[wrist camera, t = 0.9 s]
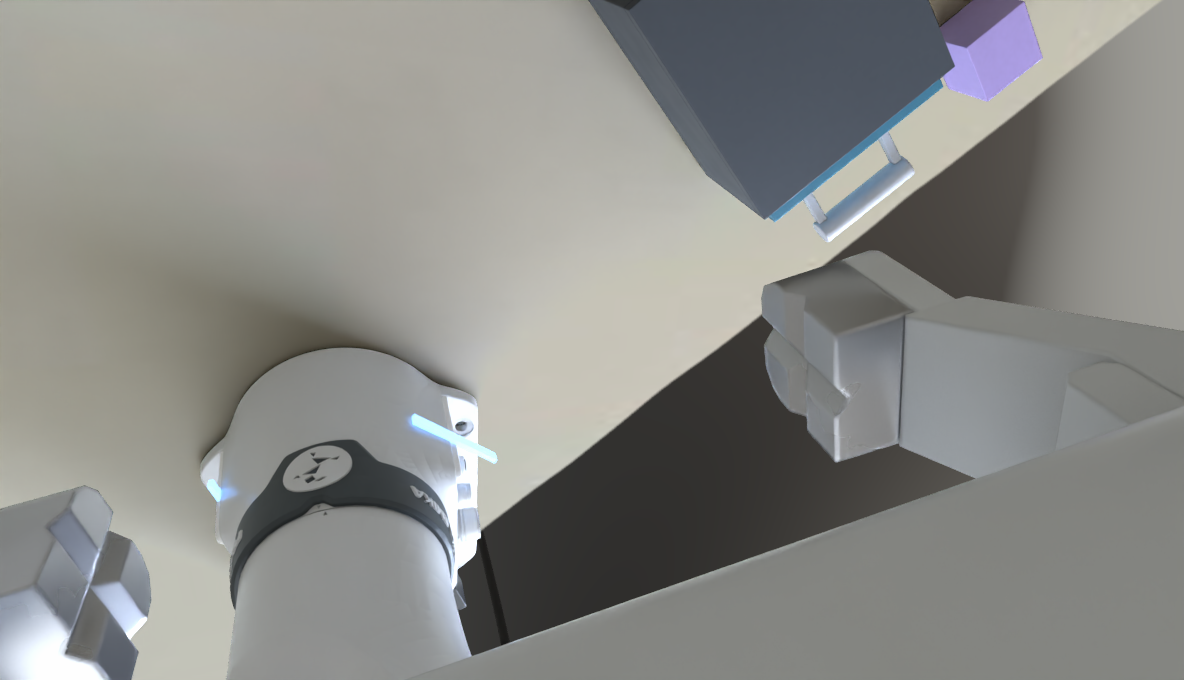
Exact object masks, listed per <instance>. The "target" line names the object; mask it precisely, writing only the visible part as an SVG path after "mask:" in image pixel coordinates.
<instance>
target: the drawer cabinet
mask: <svg viewBox="0 0 1184 680" xmlns="http://www.w3.org/2000/svg"><path fill="white" fill-rule="evenodd" d="M589 2H590V3H591V5H592V6H593V8H594V9H595V11H596V12H597V14H598V15H599V17H600V18H601V20H602V21H603V23H604V24H605V26H606V27H607V28H608V30H609V31H610V33H611V34H612V36H613V37H614V39H615V40H616V42H617V43H618V45H619V46H620V48H621V49H622V51H623V52H624V54H625V55H626V57H627V58H628V59H629V61H630V62H631V64H632V65H633V67H634V68H635V70H636V71H637V73H638V74H639V76H640V77H641V79H642V80H643V82H644V83H645V85H646V86H647V88H648V89H649V91H650V92H651V93H652V95H653V96H654V98H655V99H656V101H657V102H658V104H659V105H660V107H661V108H662V110H663V111H664V113H665V114H666V116H667V117H668V119H669V120H670V122H671V123H672V124H673V126H674V127H675V129H676V130H677V132H678V133H679V135H680V136H681V138H682V139H683V141H684V142H685V144H686V145H687V147H688V148H689V150H690V151H691V153H692V154H693V156H694V157H695V158H696V160H697V161H698V163H699V164H700V166H701V167H702V169H703V170H704V172H705V173H706V175H707V176H709V177H710V178H711V179H713V180H714V181H715V182H716V183H718V184H719V185H720V186H722V187H723V188H724V189H726V190H727V191H728V192H729V193H731V194H732V195H733V196H735V197H736V198H737V199H738V200H740V201H741V202H742V203H744V204H745V205H746V206H748V207H749V208H750V209H751V210H753V211H754V212H755V213H757V214H758V215H759V216H760V217H762V218H763V219H764V220H765V219H767V218H768V217H769V216H770V215H772V214H773V213H774V212H775V211H777V210H778V209H779V208H780V207H781V206H783V205H784V204H785V203H786V202H788V201H789V200H790V199H791V198H793V197H794V196H795V195H796V194H798V193H799V192H800V191H801V190H803V189H804V188H805V187H806V186H808V185H809V184H810V183H811V182H812V181H814V180H815V179H816V178H817V177H819V176H820V175H821V174H822V173H824V172H825V171H826V170H827V169H829V168H830V167H831V166H832V165H834V164H835V163H836V162H837V161H839V160H840V159H841V158H842V157H844V156H845V155H846V154H847V153H848V152H850V151H851V150H852V149H853V148H855V147H856V146H857V145H858V144H860V143H861V142H862V141H863V140H865V139H866V138H867V137H868V136H870V135H871V134H872V133H873V132H875V131H876V130H877V129H878V128H879V127H881V126H882V125H883V124H884V123H886V122H887V121H888V120H889V119H891V118H892V117H893V116H894V115H896V114H897V113H898V112H899V111H901V110H902V109H903V108H904V107H906V106H907V105H908V104H909V103H910V102H912V101H913V100H914V99H915V98H917V97H918V96H919V95H920V94H922V93H923V92H924V91H925V90H927V89H928V88H929V87H930V86H932V85H933V84H934V83H935V82H937V81H938V80H939V79H940V78H942V77H943V76H944V75H945V74H946V73H948V72H949V71H950V70H951V69H953V68H954V67H955V65H954V62H953V60H952V57H951V55H950V52H949V50H948V47H947V45H946V42H945V40H944V37H943V35H942V32H941V30H940V28H939V25H938V23H937V20H936V18H935V15H934V13H933V10H932V8H931V5H930V3H929V0H589Z"/></svg>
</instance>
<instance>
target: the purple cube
mask: <svg viewBox="0 0 1184 680" xmlns="http://www.w3.org/2000/svg"><path fill="white" fill-rule="evenodd" d="M939 28H940V30H941V32H942V35H943V37H944V40H945V42H946V45H947V47H948V50H949V52H950V55H951V57H952V60H953V62H954V65H955V67H954V68H953V69H951V70H950V71H949V72H948V73H946V74H945V75H944V76H943V77H944V79H945V81H946V84H947V86H948V88H949V89H951V90H954V91H957V92H960V93H963V94H966V95H969V96H972V97H975V98H978V99H981V100H984V101H989V100H990V99H992V98H993V97H994V96H995V95H997V94H998V93H999V92H1000V91H1002V90H1003V89H1004V88H1005V87H1007V86H1008V85H1009V84H1010V83H1012V82H1013V81H1014V80H1015V79H1017V78H1018V77H1019V76H1020V75H1022V74H1023V73H1024V72H1026V71H1027V70H1028V69H1029V68H1031V67H1032V66H1033V65H1034V64H1036V63H1037V62H1038V61H1039V60H1041V59H1042V58H1043V57H1042V54H1041V51H1040V48H1039V45H1038V42H1037V39H1036V36H1035V33H1034V30H1033V26H1032V23H1031V20H1030V17H1029V14H1028V11H1027V8H1026V5H1025V2H1024V1H1021V0H973V1H971V2H970V3H969V4H968V5H966V6H965V7H964V8H963V9H961V10H960V11H959V12H958V13H957V14H955V15H954V16H953V17H952V18H950V19H949V20H948V21H947V22H946V23H944V24H943V25H942V26H941V27H939Z"/></svg>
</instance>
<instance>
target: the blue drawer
mask: <svg viewBox="0 0 1184 680" xmlns="http://www.w3.org/2000/svg"><path fill="white" fill-rule="evenodd" d="M942 87H943V85H942V82H941V80H940V79H939V80H938V81H937V82H935V83H934V84H933V85H932V86H930V87H929V88H928V89H927V90H925V91H924V92H923V93H922V94H920V95H919V96H918V97H917V98H915V99H914V100H913V101H912V102H910V103H909V104H908V105H907V106H906V107H904V108H903V109H902V110H901V111H899V112H898V113H897V114H896V115H894V116H893V117H892V118H891V119H889V120H888V121H887V122H886V123H884V124H883V125H882V126H881V127H879V128H878V129H877V130H876V131H875V132H873V133H872V134H871V135H870V136H868V137H867V138H866V139H865V140H863V141H862V142H861V143H860V144H858V145H857V146H856V147H855V148H853V149H852V150H851V151H850V152H848V153H847V154H846V155H845V156H844V157H842V158H841V159H840V160H839V161H837V162H836V163H835V164H834V165H832V166H831V167H830V168H829V169H827V170H826V171H825V172H824V173H822V174H821V175H820V176H819V177H817V178H816V179H815V180H814V181H812V182H811V183H810V184H809V185H808V186H806V187H805V188H804V189H803V190H801V191H800V192H799V193H798V194H796V195H795V196H794V197H793V198H791V199H790V200H789V201H788V202H786V203H785V204H784V205H783V206H781V207H780V208H779V209H778V210H777V211H775V212H774V213H773V214H772V215H770V216H769V218H770V219H771V220H773V221H774V222H776V221H777V220H778V219H780V218H781V217H782V216H783V215H785V214H786V213H787V212H788V211H790V210H791V209H792V208H793V207H795V206H796V205H797V204H798V203H800V202H801V201H802V200H803V201H804V202H805V204H806V206H807V207H808V209H809V211H810V212H811V214H812V216H813V217H814V219H815V221H816V222H814V224H813V226H814V228H815V230H816V232H817V233H818V234H819V235H820V236H821V238H822V239H824V240H825V241H826V242H829V241H831V240H832V239H833V238H835V237H836V236H837V235H838V234H840V233H841V232H842V231H843V230H845V229H846V228H847V227H848V226H850V225H851V224H852V223H853V222H855V221H856V220H857V219H858V218H860V217H861V216H862V215H863V214H865V213H866V212H867V211H869V210H870V209H871V208H872V207H874V206H875V205H876V204H877V203H879V202H880V201H881V200H882V199H884V198H885V197H886V196H887V195H889V194H890V193H891V192H892V191H894V190H895V189H896V188H897V187H899V186H900V185H901V184H903V183H904V182H905V181H906V180H908V179H909V178H910V177H911V176H913V175H914V169H913V167H912V165H911V164H910V163H909V162H908V161H907V160H906V159H905V158H904V157H902V156H900V154H899V152H898V150H897V148H896V146H895V144H894V142H893V140H892V138H891V136H890V134H889V132H888V131H889V130H890V129H891V128H893V127H894V126H895V125H896V124H898V123H899V122H900V121H901V120H903V119H904V118H905V117H906V116H908V115H909V114H910V113H911V112H913V111H914V110H915V109H916V108H918V107H919V106H920V105H921V104H923V103H924V102H925V101H926V100H928V99H929V98H930V97H931V96H933V95H934V94H935V93H936V92H937V91H939V90H940V89H941V88H942ZM877 140H879V142H880V144H881V146H882V148H883V150H884V152H885V154H886V156H887V158H888V160H889V162H890V163H888V164H887V165H886V166H885V167H883V168H882V169H881V170H880V171H878V172H877V173H876V174H875V175H873V176H872V177H871V178H870V179H868V180H867V181H866V182H865V183H863V184H862V185H861V186H860V187H858V188H857V189H856V190H855V191H853V192H852V193H851V194H850V195H848V196H847V197H846V198H845V199H843V200H842V201H841V202H839V203H838V204H837V205H836V206H834V207H833V208H832V209H831V210H829V211H828V212H827V213H826V214H824V212H823V211H822V209H821V207H820V206H819V204H818V202H817V200H816V199H815V197H814V195H813V194H812V192H813V191H814V190H816V189H817V188H818V187H819V186H821V185H822V184H823V183H824V182H826V181H827V180H828V179H829V178H831V177H832V176H833V175H834V174H836V173H837V172H838V171H839V170H841V169H842V168H843V167H844V166H846V165H847V164H848V163H849V162H850V161H852V160H853V159H854V158H855V157H857V156H858V155H859V154H860V153H862V152H863V151H864V150H865V149H867V148H868V147H869V146H870V145H872V144H873V143H874V142H875V141H877Z"/></svg>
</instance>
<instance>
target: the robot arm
mask: <svg viewBox="0 0 1184 680" xmlns="http://www.w3.org/2000/svg"><path fill="white" fill-rule="evenodd" d="M761 300H762V316H763V317H764V318H765V319H766V320H767V321H768V322H769V323H770V324H771V325H772V326H773V327H774V328H773V330H772V332H771V334H770V336H769V337H768V339H767V341H766V343H765V345H764V348H765V358H766V368H767V371H768V374H769V377H770V380H771V383H772V386H773V388H774V390H775V391H776V393H777V395H778V397H779V399H780V400H781V401H782V403H783V404H784V405H785V406H786V407H787V408H788V410H789V411H791V412H794V413H797V414H800V415H804V416H806V417H807V430H808V432H809V433H810V435H811V436H812V437H813V438H814V439H815V440H816V441H817V442H818V443H819V445H820V446H821V447H822V448H823V449H824V450H825V451H826V452H827V453H828V454H829V456H830V457H831V458H832V459H833V460H834V461H835V462H839V461H842V460H845V459H849V458H852V457H855V456H858V455H862V454H865V453H868V452H871V451H874V450H878V449H881V448H884V447H887V446H891V445H894V444H897V443H900V446H901V447H903V448H905V449H908V450H910V451H912V452H915V453H917V454H920V455H922V456H924V457H927V458H929V459H931V460H934V461H936V462H938V463H941V464H943V465H946V466H948V467H951V468H953V469H955V470H957V471H960V472H962V473H964V474H967V475H969V476H972V477H974V478H976V479H974V480H971V481H968V482H965V483H962V484H959V485H957V486H954V487H951V488H948V489H945V490H942V491H940V492H937V493H934V494H931V495H928V496H926V497H923V498H920V499H917V500H914V501H911V502H908V503H906V504H903V505H900V506H897V507H894V508H891V509H889V510H886V511H883V512H880V513H877V514H874V515H872V516H869V517H866V518H863V519H861V520H857V521H854V522H852V523H849V524H846V525H843V526H841V527H837V528H835V529H832V530H829V531H826V532H823V533H820V534H818V535H815V536H812V537H809V538H806V539H803V540H800V541H798V542H795V543H792V544H789V545H787V546H784V547H781V548H778V549H775V550H772V551H769V552H766V553H764V554H761V555H758V556H755V557H752V558H749V559H747V560H744V561H741V562H738V563H735V564H733V565H730V566H727V567H724V568H721V569H718V570H715V571H713V572H710V573H707V574H704V575H701V576H698V577H696V578H693V579H690V580H687V581H684V582H681V583H678V584H676V585H673V586H670V587H667V588H664V589H661V590H658V591H656V592H653V593H650V594H647V595H644V596H642V597H639V598H636V599H633V600H630V601H627V602H624V603H622V604H619V605H616V606H613V607H610V608H607V609H605V610H602V611H599V612H596V613H593V614H590V615H588V616H585V617H582V618H579V619H577V620H574V621H570V622H568V623H565V624H562V625H559V626H556V627H553V628H551V629H548V630H545V631H542V632H539V633H537V634H534V635H531V636H528V637H525V638H522V639H519V640H517V641H514V642H511V643H510V640H509V635H508V631H507V626H506V622H505V618H504V613H503V609H502V605H501V601H500V596H499V592H498V588H497V584H496V580H495V576H494V572H493V568H492V564H491V560H490V556H489V552H488V548H487V544H486V539H485V536H484V531H483V529H482V530H481V531H480V521H479V515H478V510H477V455H478V456H481V457H483V458H485V459H487V460H489V461H491V462H493V463H495V462H496V461H497V457H496V454H495V453H494V452H492V451H490V450H488V449H486V448H484V447H482V446H480V445H478V408H477V402H476V400H475V398H474V397H473V396H472V395H470V394H469V393H466V392H464V391H461V390H458V389H455V388H451V387H447V386H443V385H439V384H437V383H435V382H433V381H432V380H430V379H429V378H427V377H426V376H425V375H423V374H422V373H421V372H419V371H418V370H417V369H415V368H414V367H412V366H411V365H409V364H407V363H406V362H404V361H402V360H400V359H398V358H395V357H393V356H390V355H388V354H384V353H381V352H377V351H373V350H368V349H360V348H330V349H323V350H317V351H313V352H309V353H305V354H302V355H299V356H296V357H294V358H291V359H289V360H287V361H285V362H283V363H281V364H279V365H277V366H276V367H274V368H273V369H271V370H269V371H268V372H267V373H265V374H264V375H263V376H262V377H260V378H259V379H258V380H257V381H256V382H255V383H254V384H253V385H252V386H251V387H250V388H249V390H248V391H247V392H246V393H245V395H244V396H243V398H242V399H241V401H240V403H239V405H238V407H237V409H236V411H235V414H234V417H233V420H232V422H231V425H230V428H229V430H228V432H227V434H226V436H225V437H224V438H223V439H222V440H221V441H220V442H219V443H218V444H217V445H216V446H215V447H214V448H212V449H211V450H210V451H209V453H208V454H207V455H206V456H205V457H204V459H203V460H202V462H201V465H200V478H201V481H202V482H203V484H204V485H205V486H206V487H207V489H208V490H209V491H210V492H211V494H212V495H213V496H214V497H215V499H216V500H217V506H216V522H215V535H216V539H217V542H218V543H221V544H224V546H225V547H226V549H227V550H228V552H229V553H230V554H231V559H230V570H229V572H230V583H231V584H230V591H231V599H232V603H233V606H234V609H235V617H234V624H233V632H232V640H231V647H230V655H229V662H228V670H227V678H226V680H1184V331H1180V330H1174V329H1168V328H1161V327H1155V326H1149V325H1143V324H1137V323H1130V322H1124V321H1118V320H1112V319H1106V318H1099V317H1093V316H1087V315H1081V314H1074V313H1068V312H1062V311H1056V310H1050V309H1044V308H1038V307H1032V306H1025V305H1019V304H1013V303H1007V302H1000V301H994V300H988V299H982V298H976V297H970V296H966V297H963V298H959V299H954V298H953V297H951V296H950V295H948V294H946V293H945V292H943V291H942V290H940V289H939V288H937V287H935V286H934V285H932V284H931V283H929V282H928V281H926V280H924V279H923V278H921V277H920V276H918V275H917V274H915V273H914V272H912V271H911V270H909V269H907V268H906V267H904V266H903V265H901V264H899V263H898V262H896V261H895V260H893V259H892V258H890V257H888V256H887V255H886V254H884V253H882V252H881V251H871V250H870V251H868V252H864V253H861V254H859V255H855V256H852V257H850V258H847V259H844V260H841V261H838V262H835V263H832V264H829V265H825V266H822V267H819V268H816V269H813V270H810V271H807V272H804V273H801V274H798V275H795V276H792V277H788V278H785V279H782V280H779V281H776V282H773V283H770V284H768V285H765V286H764V288H763V293H762V298H761ZM460 421H464V422H465V423H464V424H463V425H460V426H458V425H456V424H457V423H458V422H460ZM112 515H113V511H112V509H111V508H110V507H109V505H108V504H107V502H106V501H105V500H104V498H103V497H102V495H101V494H100V493H99V491H98V490H96V489H93V488H90V487H88V486H85V485H84V486H81V487H77V488H73V489H70V490H66V491H63V492H59V493H55V494H52V495H48V496H45V497H41V498H37V499H34V500H30V501H26V502H23V503H19V504H16V505H12V506H8V507H5V508H1V509H0V680H131V678H132V674H133V671H134V667H135V663H136V659H137V655H138V650H137V649H136V648H135V646H134V645H133V643H132V642H131V641H130V638H131V637H132V636H133V634H134V633H135V632H136V631H137V630H138V629H139V628H140V627H141V626H142V624H143V623H144V622H145V621H146V620H147V616H148V612H149V607H150V603H151V590H150V578H149V573H148V570H147V568H146V565H145V562H144V560H143V557H142V555H141V554H140V552H139V550H138V549H137V547H136V546H135V544H134V543H133V541H132V540H130V539H128V538H125V537H123V536H121V535H118V534H116V533H114V532H111V531H109V526H110V523H111V519H112ZM476 540H478V545H479V549H480V553H481V558H482V561H483V566H484V570H485V574H486V579H487V583H488V587H489V591H490V596H491V601H492V605H493V609H494V614H495V619H496V623H497V627H498V633H499V638H500V643H501V646H500V647H497V648H494V649H491V650H488V651H485V652H482V653H480V654H477V655H474V656H471V653H470V650H469V648H468V645H467V642H466V638H465V635H464V632H463V628H462V625H461V622H460V618H459V614H458V610H460V609H462V608H464V607H466V602H465V597H464V592H463V586H462V581H461V579H460V577H459V575H458V574H457V569H458V568H460V567H461V566H462V565H464V564H465V563H466V562H467V561H468V560H470V559H471V558H472V557H473V556H474V554H475V551H476Z"/></svg>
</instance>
